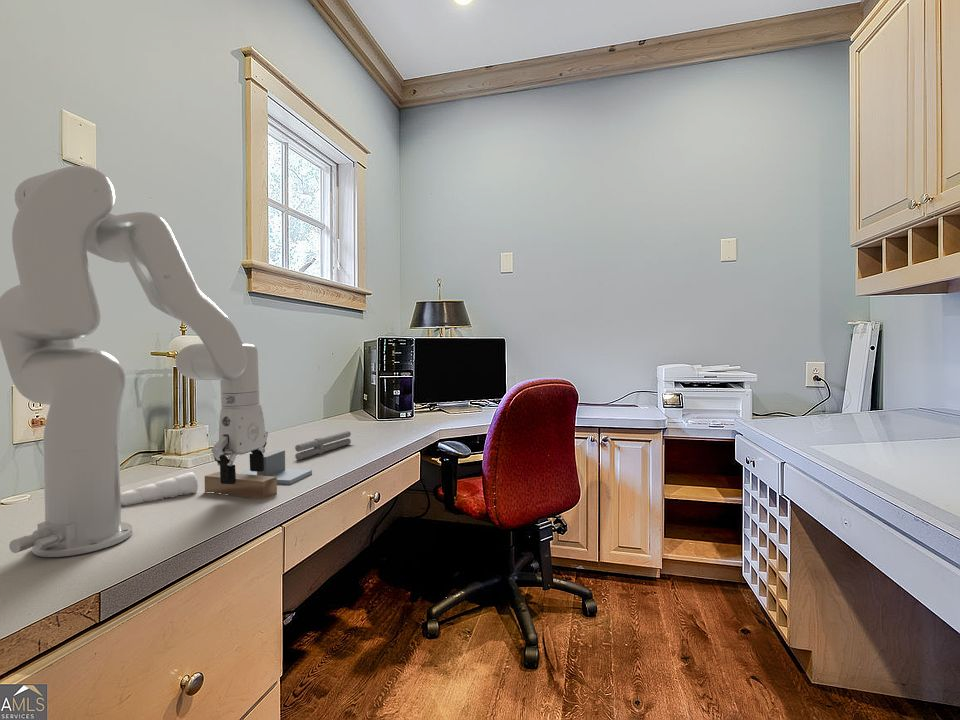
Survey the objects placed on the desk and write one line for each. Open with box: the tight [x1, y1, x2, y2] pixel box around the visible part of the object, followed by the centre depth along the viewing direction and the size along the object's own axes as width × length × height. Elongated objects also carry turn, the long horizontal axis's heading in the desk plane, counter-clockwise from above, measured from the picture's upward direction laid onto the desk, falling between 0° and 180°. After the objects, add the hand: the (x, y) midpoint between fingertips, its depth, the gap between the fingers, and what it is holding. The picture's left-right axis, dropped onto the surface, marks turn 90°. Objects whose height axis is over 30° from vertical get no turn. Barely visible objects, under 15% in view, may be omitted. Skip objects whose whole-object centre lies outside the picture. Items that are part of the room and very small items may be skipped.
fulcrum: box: [239, 449, 313, 485], centre depth 119 cm, size 10×16×6 cm, turn 80°
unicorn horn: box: [120, 471, 199, 507], centre depth 100 cm, size 5×24×5 cm, turn 131°
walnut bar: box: [204, 471, 278, 500], centre depth 106 cm, size 4×16×4 cm, turn 72°
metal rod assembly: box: [294, 430, 352, 461], centre depth 150 cm, size 26×3×5 cm, turn 162°
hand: (243, 477), depth 106 cm, fingers open, 9 cm apart
